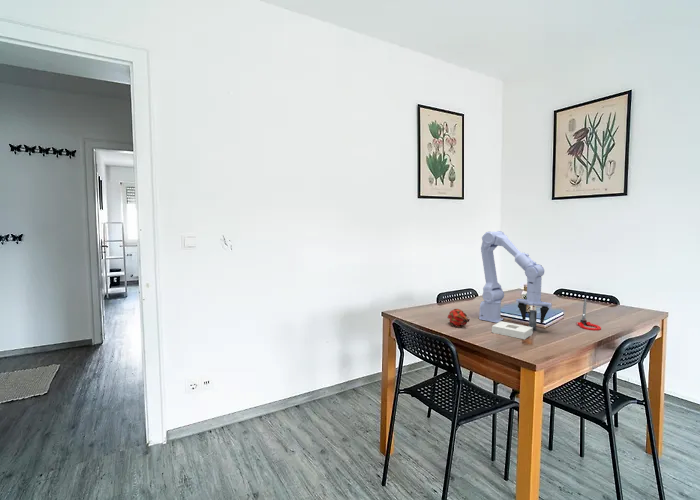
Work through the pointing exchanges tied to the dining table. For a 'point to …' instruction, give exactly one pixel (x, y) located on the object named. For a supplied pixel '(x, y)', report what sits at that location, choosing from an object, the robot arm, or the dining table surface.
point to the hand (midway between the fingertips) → (532, 321)
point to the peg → (532, 319)
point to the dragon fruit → (458, 317)
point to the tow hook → (584, 321)
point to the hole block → (512, 330)
